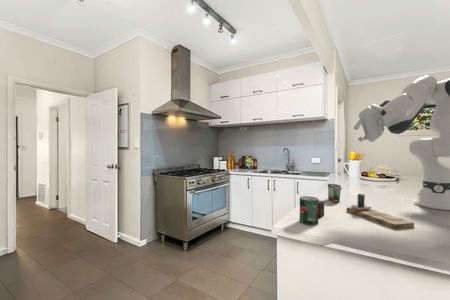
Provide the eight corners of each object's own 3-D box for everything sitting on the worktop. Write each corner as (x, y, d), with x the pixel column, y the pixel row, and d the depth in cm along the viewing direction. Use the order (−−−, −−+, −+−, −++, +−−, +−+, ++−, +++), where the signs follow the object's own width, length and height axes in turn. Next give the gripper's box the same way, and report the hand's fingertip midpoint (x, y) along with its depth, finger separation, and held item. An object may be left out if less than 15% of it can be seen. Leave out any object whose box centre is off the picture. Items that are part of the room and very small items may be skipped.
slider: (351, 207, 115) (351, 193, 115) (362, 206, 116) (362, 193, 116) (359, 210, 110) (359, 195, 110) (370, 209, 111) (371, 195, 111)
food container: (344, 204, 131) (345, 187, 131) (333, 203, 132) (334, 186, 132) (337, 199, 143) (337, 183, 143) (327, 198, 144) (327, 183, 144)
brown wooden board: (346, 211, 116) (346, 207, 116) (362, 210, 118) (362, 206, 118) (395, 229, 90) (395, 224, 90) (414, 227, 93) (414, 222, 93)
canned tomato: (295, 221, 100) (295, 197, 100) (308, 218, 104) (308, 195, 104) (309, 227, 93) (309, 201, 93) (322, 224, 97) (322, 199, 97)
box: (324, 215, 108) (324, 201, 108) (320, 218, 104) (320, 203, 104) (312, 213, 113) (312, 199, 112) (307, 216, 108) (307, 201, 108)
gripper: (379, 129, 121) (357, 144, 123) (371, 101, 110) (347, 118, 112) (389, 134, 115) (366, 150, 118) (382, 105, 104) (356, 123, 107)
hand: (356, 134), depth 115 cm, fingers open, 8 cm apart
